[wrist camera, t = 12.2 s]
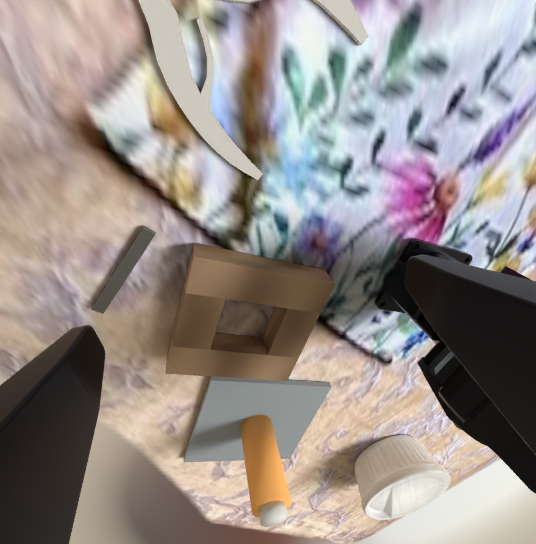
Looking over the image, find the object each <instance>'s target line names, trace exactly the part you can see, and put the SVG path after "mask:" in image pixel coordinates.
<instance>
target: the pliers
mask: <svg viewBox="0 0 536 544" xmlns="http://www.w3.org/2000/svg"><path fill="white" fill-rule="evenodd" d="M138 1H139V3H140V5H141V8H142V10H143V13H144V15H145V17H146V20H147V22H148V25H149V29H150V33H151V38H152V42H153V46H154V51H155V55H156V59H157V62H158V64H159V67H160V69H161V71H162V74H163V76H164V79H165V81H166V83H167V85H168V87H169V89H170V91H171V92H172V94H173V96H174V98H175V99H176V101H177V103H178V105H179V106H180V108H181V109H182V111H183V112H184V114H185V115H186V116H187V118H188V119H189V121H190V122H191V124H192V125H193V126H194V127H195V129H196V130H197V131H198V132H199V134H200V135H201V136H202V137H203V139H204V140H205V141H206V142H207V143H208V144H209V145H210V146H211V147H212V148H213V149H214V150H215V151H216V152H217V153H219V154H220V155H221V156H222V157H223V158H224V159H226V160H227V161H228V162H229V163H230V164H232V165H234V166H235V167H237V168H238V169H240V170H241V171H243V172H244V173H246V174H248V175H250V176H251V177H253V178H255V179H257V180H258V179H259V178H260V177H261V175H262V173H261V172H260V171H259V170H258V169H257V168H256V167H255V165H254V164H253V163H252V162H251V161H250V160H249V159H248V158H247V157H246V156H245V155H244V154H243V153H242V151H241V150H240V149H239V148H238V147H237V146H236V145H235V144H234V142H233V141H232V140H231V139H230V138H229V136H228V135H227V134H226V132H225V131H224V129H223V128H222V127H221V125H220V124H219V122H218V121H217V119H216V118H215V116H214V115H213V113H212V112H211V103H210V97H211V91H212V86H213V80H214V69H213V55H212V50H211V46H210V42H209V38H208V35H207V32H206V29H205V26H204V23H203V20H202V17H201V18H199V19H197V24H198V27H199V30H200V33H201V36H202V39H203V43H204V48H205V52H206V57H207V77H206V80H205V83H204V86H203V89H202V91H201V94H200V92H199V89H198V87H197V85H196V83H195V81H194V79H193V77H192V74H191V70H190V67H189V63H188V59H187V55H186V52H185V47H184V43H183V38H182V34H181V29H180V25H179V20H178V16H177V12H176V11H175V9H174V8H173V6H172V5H171V3H170V1H169V0H138ZM224 1H228V2H233V3H244V4H249V3H253V2H257V1H261V0H224ZM312 1H314V2H315V3H316V4H318V5H319V6H320V7H321V8H323V9H324V10H325V11H326V12H327V13H328V14H329V15H330V16H331V17H332V18H333V19H334V20H335V21H336V22H337V23H338V24H339V25H340V26H341V27H342V28H343V29H344V30H345V31H346V32H347V33H348V34H349V35H350V36H351V37H352V38H353V39H354V41H355V42H356V43H357V44H358V45H362V44H363V43H364V42H365V40H366V39H367V38H368V34H367V32H366V30H365V28H364V26H363V24H362V22H361V19H360V17H359V16H358V14H357V12H356V10H355V8H354V7H353V5H352V3H351V1H350V0H312Z"/></svg>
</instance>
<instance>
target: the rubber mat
mask: <svg viewBox="0 0 536 544" xmlns="http://www.w3.org/2000/svg"><path fill="white" fill-rule="evenodd" d="M330 389H331V385H330V383H329V382H317V381H301V380H287V381H279V380H263V379H247V378H230V377H214V376H210V379H209V382H208V385H207V388H206V391H205V394H204V397H203V400H202V403H201V406H200V409H199V412H198V415H197V418H196V421H195V424H194V427H193V430H192V433H191V436H190V439H189V442H188V445H187V448H186V451H185V454H184V462H204V461H233V460H245V458H244V451H243V444H242V437H241V430H240V426H241V424H242V422H243V421H244V420H246V419H247V418H249V417H251V416H254V415H266V416H268V417H269V418H270V419H271V421H272V425H273V429H274V433H275V438H276V442H277V446H278V450H279V454H280V458H281V459H290V457H291V455H292V453H293V452H294V450H295V448H296V447H297V445H298V443H299V442H300V440H301V438H302V436H303V435H304V433H305V431H306V430H307V428H308V426H309V424H310V423H311V421H312V419H313V418H314V416H315V414H316V413H317V411H318V409H319V407H320V406H321V404H322V402H323V401H324V399H325V397H326V395H327V394H328V392H329V390H330Z"/></svg>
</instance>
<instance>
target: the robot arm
mask: <svg viewBox="0 0 536 544" xmlns="http://www.w3.org/2000/svg"><path fill="white" fill-rule="evenodd" d="M415 244H416V246H415V247H414V245H415ZM471 261H472V256H471V255H470V254H468V253H466V252H462V251H459V250H455V249H452V248H448V247H445V246H441V245H437V244H434V243H430V242H427V241H423V240H420V239H412V240H411V241H410V242H409V243H408V245H407V247H406V248H405V250H404V252H403V254H402V255H401V257H400V259H399V261H398V262H397V264H396V266H395V268H394V269H393V271H392V273H391V274H390V276H389V278H388V280H387V281H386V283H385V285H384V287H383V288H382V290H381V292H380V294H379V295H378V297H377V299H376V301H375V305H376V306H377V307H378V308H379V309H384V310H390V311H396V312H402V313H406V314H407V315H408V316H409V317H410V318H411V319H412V320H413V321H414V322H415V323H416V324H417V325H418V326H419V327H420V328H421V329H422V330H423V331H424V332H425V333H426V334H427V335H428V336H429V337H430V338H431V339H432V341H433V342H434V343H435V344H436V345H435V346H434V347H433V348H432V349H431V350H430V351H429V352H428V353H427V355H426V356H425V357H422V358H421V359H420V360H419V361H418V362H417V363H418V365H419V366H420V368H421V370H422V372H423V374H424V376H425V378H426V380H427V381H428V383H429V385H430V387H431V389H432V390H433V392H434V394H435V396H436V397H437V399H438V401H439V403H440V404H441V406H442V408H443V410H444V411H445V413H446V415H447V416H448V418H449V419H450V420H452V421H453V423H454V424H455V426H456V427H458V428H459V429H461V430H463V431H465V432H466V433H467V434H468V435H470V436H471V437H472V438H474V439H475V440H477V441H478V442H480V443H482V444H484V445H486V446H488V447H489V448H490V449H492V450H493V451H494V452H495V453H496V454H497V455H498V456H499V457H500V458H501V459H502V460H503V461H504V462H505V463H506V464H507V465H508V466H509V467H510V468H511V470H513V472H514V473H515V474H516V475H517V476H518V477H519V478H520V479H521V480H522V481H523V482H524V483H525V485H526V486H527V487H528V488H529V489H530V490H531V491H533V492H534V493H536V281H532V280H530V279H529V278H527V277H525V276H523V275H521V274H519V273H517V272H516V271H514V270H512V269H510V268H508V267H506V266H505V267H504V268H503V269H502V271H501V272H500V273H499V272H495V271H491V270H486V269H482V268H478V267H474V266H470V265H469V264H470V262H471ZM381 302H382V303H381ZM104 362H105V350H104V347H103V345H102V343H101V341H100V340H99V338H98V336H97V334H96V332H95V331H94V329H93V328H92V327H91V326H89V325H85V326H81V327H76V328H73V329H71V330H69V331H68V332H67V333H66V334H64V335H63V336H62V337H61V338H59V339H58V340H57V341H56V342H54V343H53V344H52V345H51V346H49V347H48V348H47V349H46V350H44V351H43V352H42V353H40V354H39V355H38V356H37V357H35V358H34V359H33V360H32V361H30V362H29V363H28V364H27V365H25V366H24V367H23V368H22V369H20V370H19V371H18V372H17V373H15V374H14V375H13V376H12V377H10V378H9V379H8V380H7V381H5V382H4V383H3V384H1V386H0V544H69V540H70V536H71V532H72V528H73V523H74V519H75V514H76V510H77V505H78V501H79V497H80V492H81V488H82V483H83V479H84V474H85V471H86V466H87V462H88V457H89V453H90V449H91V444H92V440H93V435H94V431H95V427H96V422H97V418H98V413H99V407H100V399H101V390H102V381H103V371H104Z"/></svg>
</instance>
